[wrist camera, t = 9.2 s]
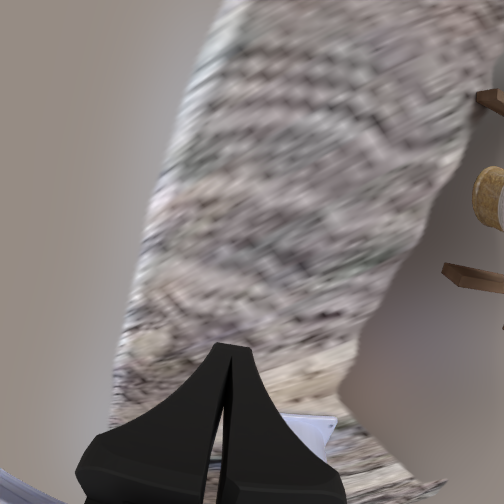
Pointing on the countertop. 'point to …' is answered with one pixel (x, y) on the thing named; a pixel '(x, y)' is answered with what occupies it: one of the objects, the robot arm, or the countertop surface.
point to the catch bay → (470, 276)
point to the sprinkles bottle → (489, 197)
